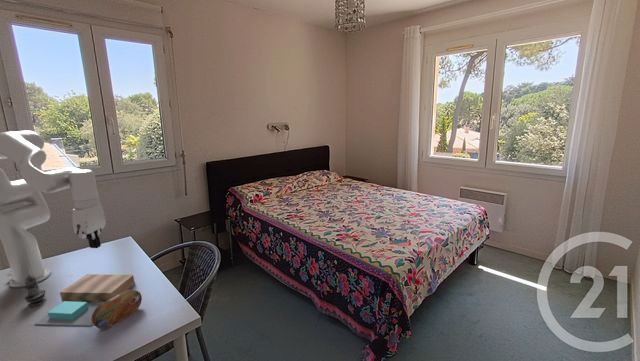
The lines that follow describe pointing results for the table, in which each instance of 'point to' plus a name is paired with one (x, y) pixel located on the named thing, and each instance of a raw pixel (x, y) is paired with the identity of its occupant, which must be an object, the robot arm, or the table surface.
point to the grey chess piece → (34, 292)
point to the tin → (116, 309)
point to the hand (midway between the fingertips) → (95, 247)
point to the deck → (97, 288)
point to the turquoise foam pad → (68, 310)
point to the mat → (80, 320)
